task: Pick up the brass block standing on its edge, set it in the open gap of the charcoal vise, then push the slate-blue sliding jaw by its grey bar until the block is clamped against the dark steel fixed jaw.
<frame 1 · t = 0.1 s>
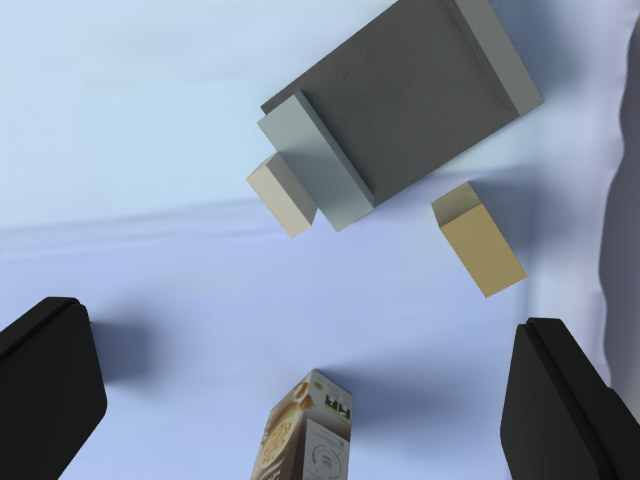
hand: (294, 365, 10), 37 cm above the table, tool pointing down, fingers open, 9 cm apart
coffee box: (310, 402, 58), on the table
block: (469, 224, 47), on the table
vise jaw: (306, 174, 41), point 6 cm above the table, slide at 0.0 cm
vise: (411, 92, 43), on the table
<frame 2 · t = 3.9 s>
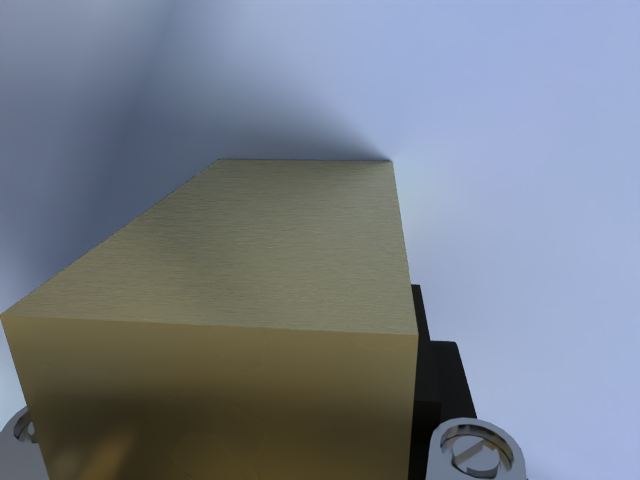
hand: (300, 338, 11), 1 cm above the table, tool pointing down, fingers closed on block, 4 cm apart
block: (307, 312, 12), on the table, touching gripper
when the fingers open (4 cm above the table, at t = 10.3 s): block drops 1 cm, resting on vise.
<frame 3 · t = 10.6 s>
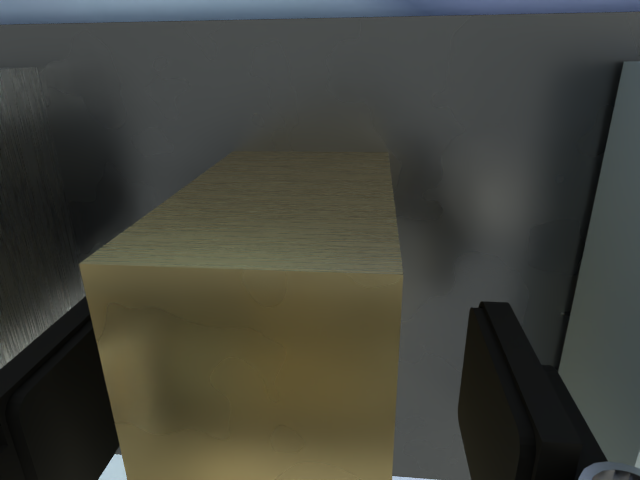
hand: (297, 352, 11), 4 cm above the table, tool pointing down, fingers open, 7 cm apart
block: (312, 290, 14), point 1 cm above the table, touching vise
vise: (285, 271, 15), on the table
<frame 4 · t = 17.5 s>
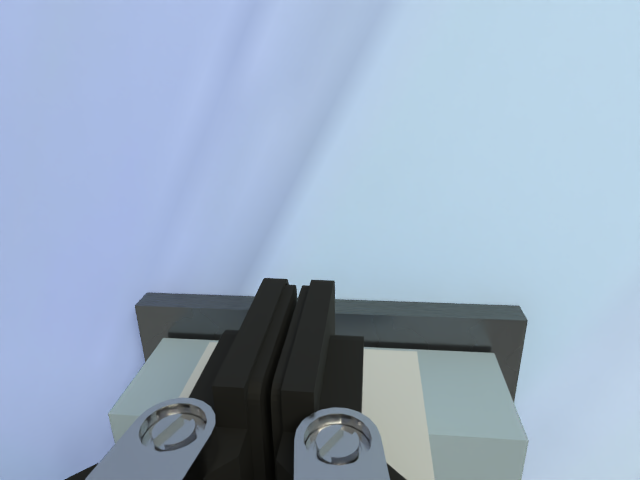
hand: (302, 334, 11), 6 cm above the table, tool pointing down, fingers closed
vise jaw: (307, 467, 13), point 6 cm above the table, slide at 1.2 cm, touching gripper
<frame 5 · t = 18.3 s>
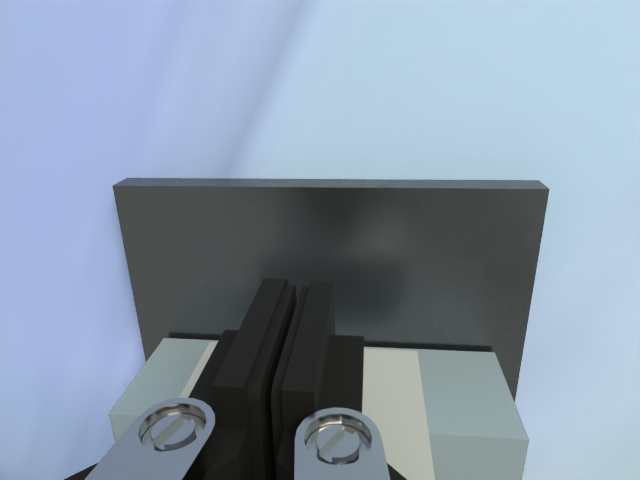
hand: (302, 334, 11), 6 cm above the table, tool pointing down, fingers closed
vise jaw: (307, 466, 13), point 6 cm above the table, slide at 5.8 cm, touching gripper
vise: (328, 449, 21), on the table
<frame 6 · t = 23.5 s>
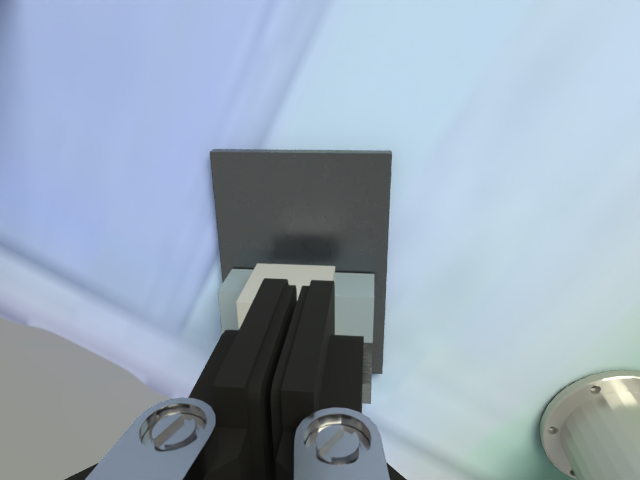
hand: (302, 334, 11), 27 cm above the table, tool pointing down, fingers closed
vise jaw: (294, 309, 36), point 6 cm above the table, slide at 9.9 cm
vise: (304, 286, 42), on the table
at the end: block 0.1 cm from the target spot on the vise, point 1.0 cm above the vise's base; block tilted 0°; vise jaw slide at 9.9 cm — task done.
